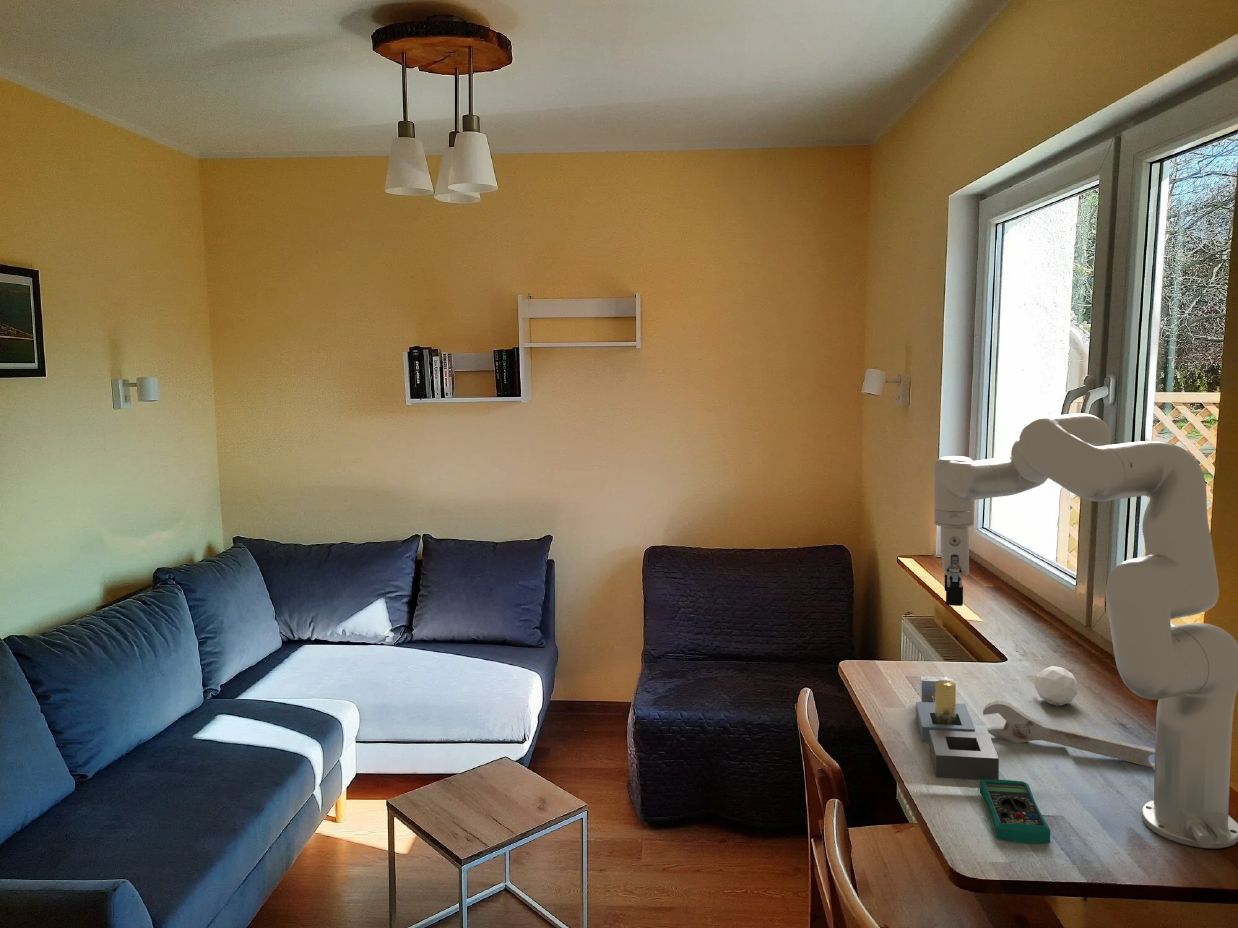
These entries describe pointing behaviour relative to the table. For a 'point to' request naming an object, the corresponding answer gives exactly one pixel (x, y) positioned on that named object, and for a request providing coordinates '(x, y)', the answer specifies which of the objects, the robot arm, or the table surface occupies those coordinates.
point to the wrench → (1061, 735)
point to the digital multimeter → (1014, 811)
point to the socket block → (928, 722)
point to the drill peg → (945, 702)
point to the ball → (1056, 685)
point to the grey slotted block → (963, 755)
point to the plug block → (930, 687)
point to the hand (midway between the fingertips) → (953, 598)
